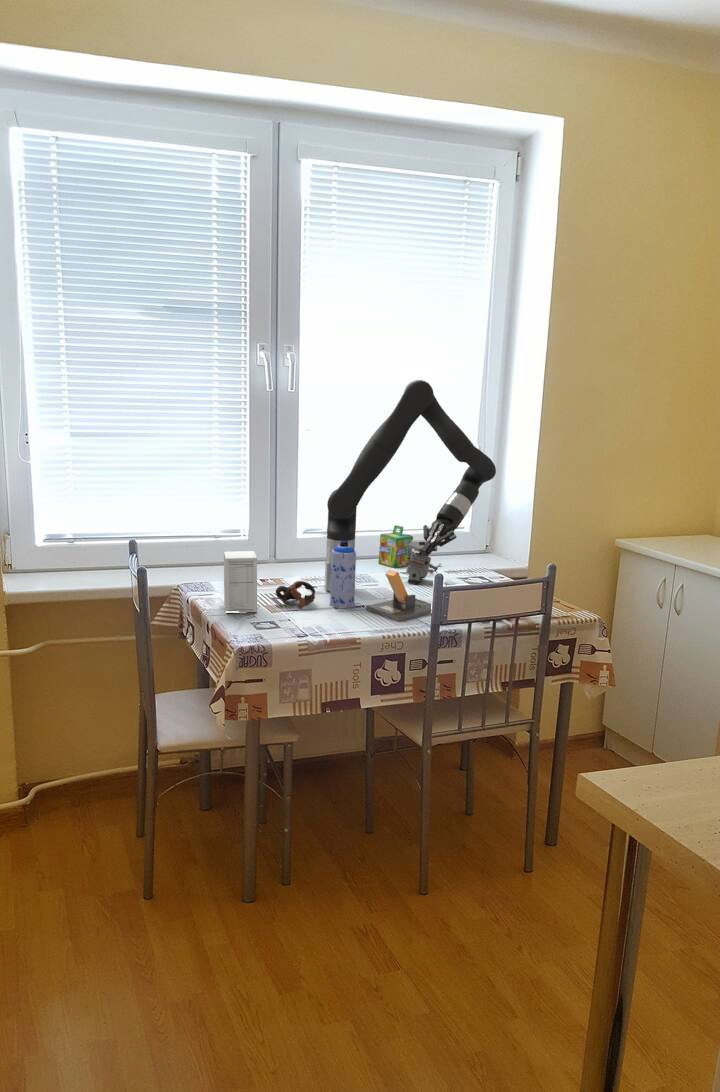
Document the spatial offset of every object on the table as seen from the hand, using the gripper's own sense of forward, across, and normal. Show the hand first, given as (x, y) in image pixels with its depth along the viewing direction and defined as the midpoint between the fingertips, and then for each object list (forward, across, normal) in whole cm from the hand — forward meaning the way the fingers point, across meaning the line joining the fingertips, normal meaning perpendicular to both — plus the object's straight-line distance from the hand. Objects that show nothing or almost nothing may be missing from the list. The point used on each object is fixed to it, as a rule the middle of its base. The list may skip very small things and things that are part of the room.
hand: (424, 553), depth 245 cm
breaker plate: (+17, 0, +6) cm, 19 cm away
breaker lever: (+15, 0, +4) cm, 16 cm away
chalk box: (-11, -46, +35) cm, 59 cm away
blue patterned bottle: (+25, -16, -1) cm, 30 cm away
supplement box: (+46, -29, -21) cm, 58 cm away
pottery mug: (+34, -24, -10) cm, 43 cm away
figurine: (-4, -22, +28) cm, 36 cm away
